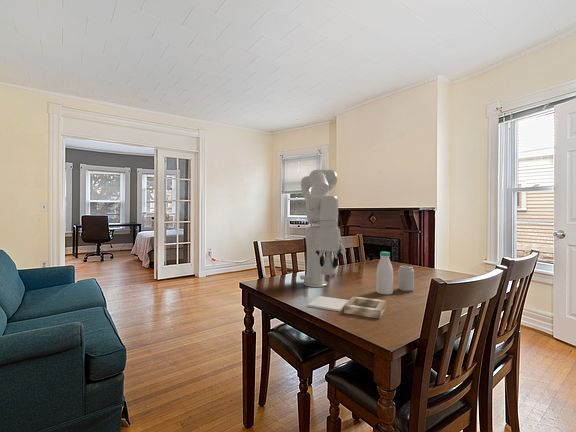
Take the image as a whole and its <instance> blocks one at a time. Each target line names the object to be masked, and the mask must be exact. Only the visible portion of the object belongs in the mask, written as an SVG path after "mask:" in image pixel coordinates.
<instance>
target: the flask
mask: <svg viewBox="0 0 576 432" xmlns="http://www.w3.org/2000/svg"><path fill="white" fill-rule="evenodd" d="M324 253H325V256H324V265H323V268H322V270H321V274H323V275H324V276H336V275H337V274H338V272H337V269H336V268H334V267H333V259H334V258H333V252H329V251H324Z"/></svg>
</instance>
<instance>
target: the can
mask: <svg viewBox="0 0 576 432" xmlns="http://www.w3.org/2000/svg"><path fill="white" fill-rule="evenodd" d="M397 275H398V276H397V277H398V278H397V288H398V290H400V291H402V292H412V291H414V290H415V270H414V267H413V266H410V265H400V266H399V268H398V272H397Z"/></svg>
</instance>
